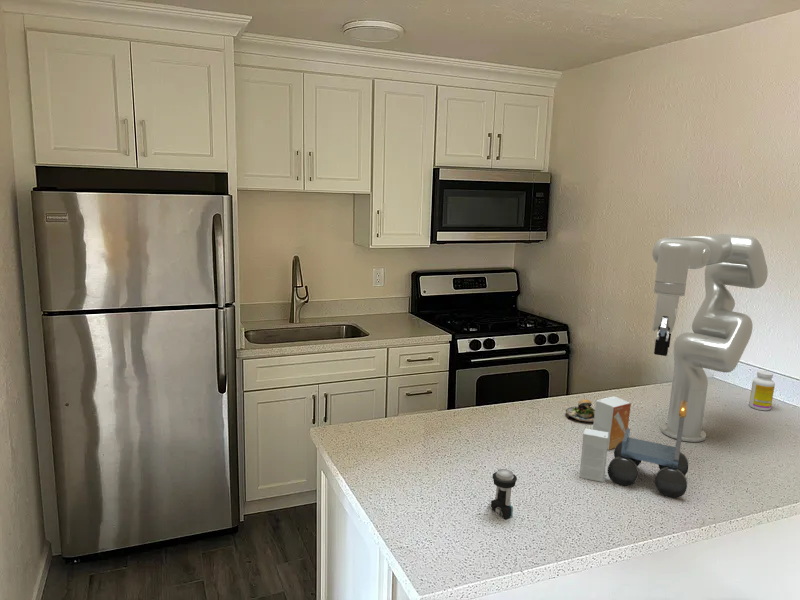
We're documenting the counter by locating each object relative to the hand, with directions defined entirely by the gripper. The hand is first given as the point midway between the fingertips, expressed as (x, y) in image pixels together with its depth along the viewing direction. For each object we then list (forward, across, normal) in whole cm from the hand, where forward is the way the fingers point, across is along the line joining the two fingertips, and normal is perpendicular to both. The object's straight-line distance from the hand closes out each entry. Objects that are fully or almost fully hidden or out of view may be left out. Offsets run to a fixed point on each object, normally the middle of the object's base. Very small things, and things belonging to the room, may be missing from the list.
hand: (661, 350), depth 161 cm
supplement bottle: (+31, -63, +31) cm, 77 cm away
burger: (+31, -19, -21) cm, 42 cm away
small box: (+31, -2, -11) cm, 32 cm away
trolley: (+30, +16, +1) cm, 35 cm away
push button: (+31, +51, -27) cm, 65 cm away
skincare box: (+31, +22, -12) cm, 39 cm away
